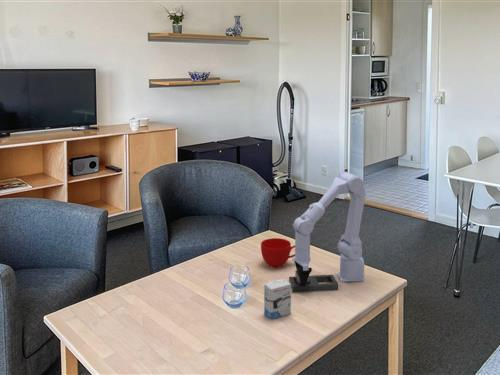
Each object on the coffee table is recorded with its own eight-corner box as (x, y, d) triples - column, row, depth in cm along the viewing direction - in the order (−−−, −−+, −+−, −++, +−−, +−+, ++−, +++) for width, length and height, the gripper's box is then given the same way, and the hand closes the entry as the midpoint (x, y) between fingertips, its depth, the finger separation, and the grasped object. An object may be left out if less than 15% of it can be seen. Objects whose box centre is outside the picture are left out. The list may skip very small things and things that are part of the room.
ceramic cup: (300, 270, 214) (301, 248, 211) (261, 271, 214) (260, 249, 212) (298, 258, 227) (298, 237, 224) (260, 258, 227) (260, 238, 224)
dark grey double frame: (332, 280, 205) (332, 274, 204) (338, 290, 196) (338, 284, 196) (288, 282, 204) (289, 276, 203) (292, 292, 195) (292, 286, 194)
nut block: (306, 283, 202) (306, 269, 201) (308, 289, 198) (308, 274, 196) (295, 284, 202) (295, 270, 200) (297, 289, 197) (297, 275, 196)
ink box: (270, 319, 175) (270, 289, 172) (263, 313, 180) (263, 283, 177) (291, 313, 179) (291, 283, 176) (284, 307, 183) (284, 278, 180)
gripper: (289, 241, 202) (289, 272, 206) (295, 255, 188) (295, 288, 192) (306, 240, 203) (306, 271, 206) (314, 254, 189) (313, 287, 192)
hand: (302, 279), depth 199 cm, fingers open, 7 cm apart
